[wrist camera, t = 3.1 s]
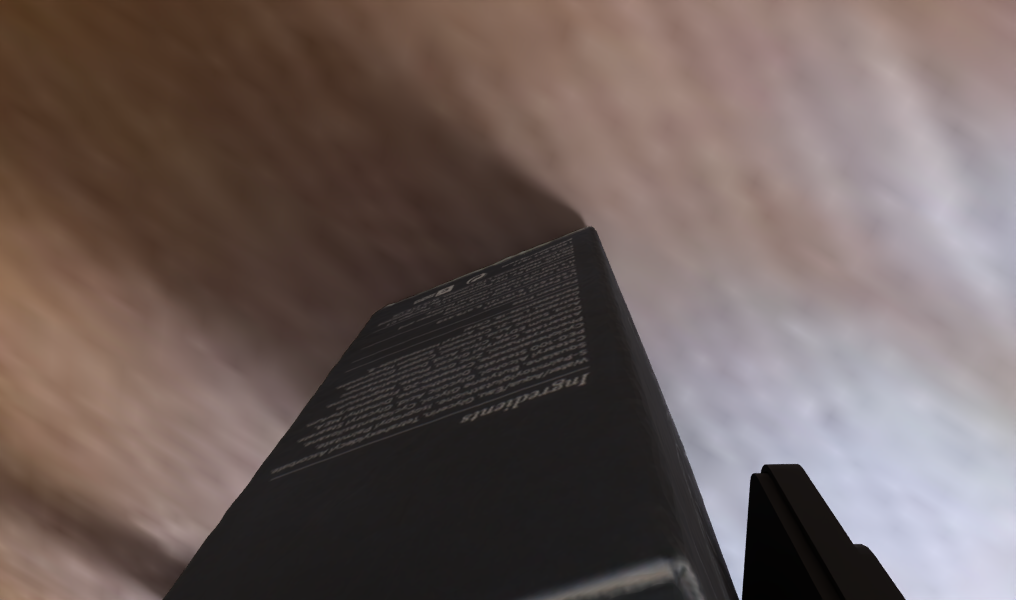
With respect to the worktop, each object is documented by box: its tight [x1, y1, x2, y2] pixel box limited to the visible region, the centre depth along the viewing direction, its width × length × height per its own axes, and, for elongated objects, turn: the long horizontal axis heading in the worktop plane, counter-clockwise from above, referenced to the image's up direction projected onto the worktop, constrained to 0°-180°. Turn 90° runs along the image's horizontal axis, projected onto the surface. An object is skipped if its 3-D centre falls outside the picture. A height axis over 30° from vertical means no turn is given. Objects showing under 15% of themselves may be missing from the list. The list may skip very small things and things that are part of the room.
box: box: [163, 227, 739, 600], centre depth 11 cm, size 8×6×11 cm
